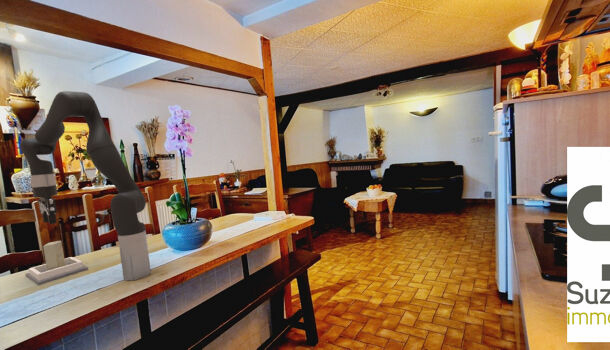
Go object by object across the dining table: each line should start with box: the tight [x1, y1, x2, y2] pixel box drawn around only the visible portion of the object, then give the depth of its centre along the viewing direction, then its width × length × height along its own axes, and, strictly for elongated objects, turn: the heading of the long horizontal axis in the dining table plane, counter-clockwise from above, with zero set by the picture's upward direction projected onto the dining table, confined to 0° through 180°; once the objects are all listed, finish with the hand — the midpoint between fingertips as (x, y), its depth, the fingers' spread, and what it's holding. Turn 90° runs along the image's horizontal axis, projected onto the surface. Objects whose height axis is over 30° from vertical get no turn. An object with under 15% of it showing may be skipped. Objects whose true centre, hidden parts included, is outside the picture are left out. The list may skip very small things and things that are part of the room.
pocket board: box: [25, 256, 89, 286], centre depth 119 cm, size 20×16×4 cm
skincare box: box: [42, 240, 65, 271], centre depth 119 cm, size 6×4×12 cm
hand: (49, 222), depth 118 cm, fingers open, 8 cm apart
